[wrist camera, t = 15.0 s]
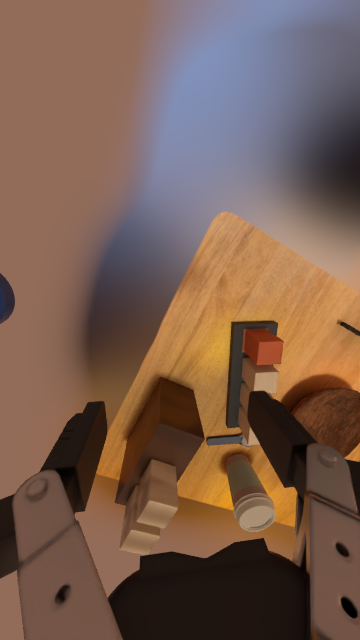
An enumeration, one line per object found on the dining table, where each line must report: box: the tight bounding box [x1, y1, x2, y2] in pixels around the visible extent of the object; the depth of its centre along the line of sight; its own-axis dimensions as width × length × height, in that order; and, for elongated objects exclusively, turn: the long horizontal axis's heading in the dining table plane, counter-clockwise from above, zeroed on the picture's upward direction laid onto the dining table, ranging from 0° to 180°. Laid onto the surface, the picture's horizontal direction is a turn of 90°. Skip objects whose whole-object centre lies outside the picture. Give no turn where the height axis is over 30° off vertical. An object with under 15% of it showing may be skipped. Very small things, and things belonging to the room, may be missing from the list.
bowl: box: [291, 387, 360, 458], centre depth 47 cm, size 20×22×5 cm
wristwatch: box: [207, 434, 253, 447], centre depth 49 cm, size 4×20×1 cm, turn 91°
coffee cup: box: [226, 454, 275, 532], centre depth 46 cm, size 8×8×12 cm
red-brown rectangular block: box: [244, 330, 284, 365], centre depth 38 cm, size 4×4×6 cm
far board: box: [226, 321, 279, 445], centre depth 41 cm, size 9×25×8 cm, turn 1°
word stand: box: [115, 377, 205, 555], centre depth 37 cm, size 18×8×19 cm, turn 153°
